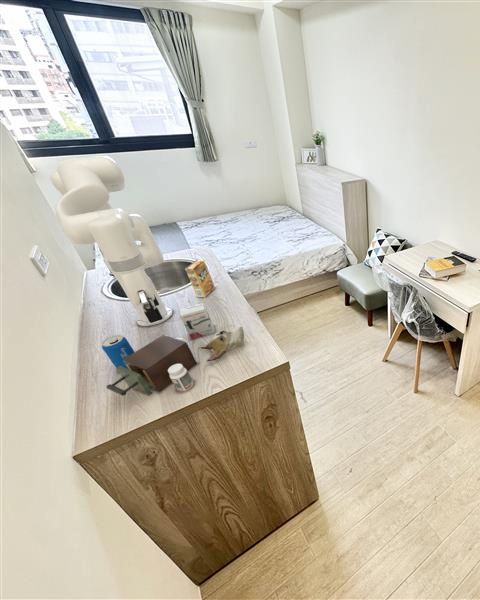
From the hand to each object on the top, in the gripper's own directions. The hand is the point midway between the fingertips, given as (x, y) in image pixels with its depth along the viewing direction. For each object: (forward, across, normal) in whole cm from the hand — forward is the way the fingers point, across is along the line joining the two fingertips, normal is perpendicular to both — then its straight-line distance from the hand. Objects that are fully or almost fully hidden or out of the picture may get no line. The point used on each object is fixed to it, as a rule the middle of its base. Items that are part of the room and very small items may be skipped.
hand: (155, 313), depth 96 cm
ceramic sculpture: (+24, -2, +14) cm, 28 cm away
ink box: (+24, -19, +9) cm, 32 cm away
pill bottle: (+24, +8, -1) cm, 26 cm away
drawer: (+23, 0, -10) cm, 25 cm away
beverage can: (+24, -15, -15) cm, 32 cm away
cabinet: (+24, -3, -5) cm, 25 cm away
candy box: (+24, -52, +16) cm, 60 cm away
